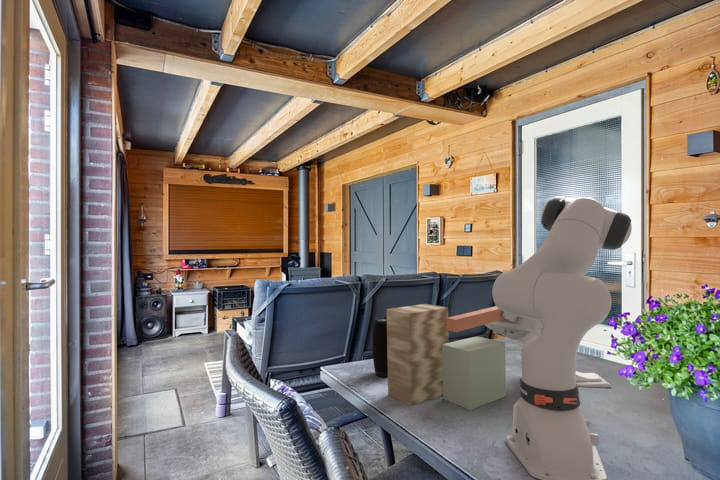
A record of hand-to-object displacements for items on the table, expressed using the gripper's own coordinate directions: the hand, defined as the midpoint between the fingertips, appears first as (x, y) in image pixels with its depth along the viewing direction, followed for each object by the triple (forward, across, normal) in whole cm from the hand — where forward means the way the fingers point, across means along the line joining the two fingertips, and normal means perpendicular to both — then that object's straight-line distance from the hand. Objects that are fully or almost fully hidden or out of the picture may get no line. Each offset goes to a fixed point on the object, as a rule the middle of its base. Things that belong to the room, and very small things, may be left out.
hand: (495, 312), depth 125 cm
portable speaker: (+4, +33, -29) cm, 44 cm away
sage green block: (-3, 0, -26) cm, 26 cm away
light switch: (-37, -12, -8) cm, 39 cm away
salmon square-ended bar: (+5, 0, -6) cm, 8 cm away
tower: (+7, +13, -31) cm, 34 cm away
